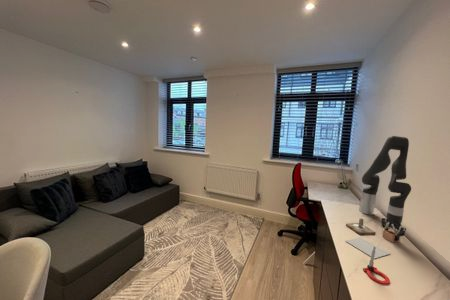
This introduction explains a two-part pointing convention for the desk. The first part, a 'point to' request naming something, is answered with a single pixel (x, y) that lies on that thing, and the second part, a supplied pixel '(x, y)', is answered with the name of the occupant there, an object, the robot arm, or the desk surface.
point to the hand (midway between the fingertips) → (390, 237)
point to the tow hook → (371, 268)
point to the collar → (389, 235)
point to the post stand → (360, 228)
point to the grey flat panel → (367, 247)
